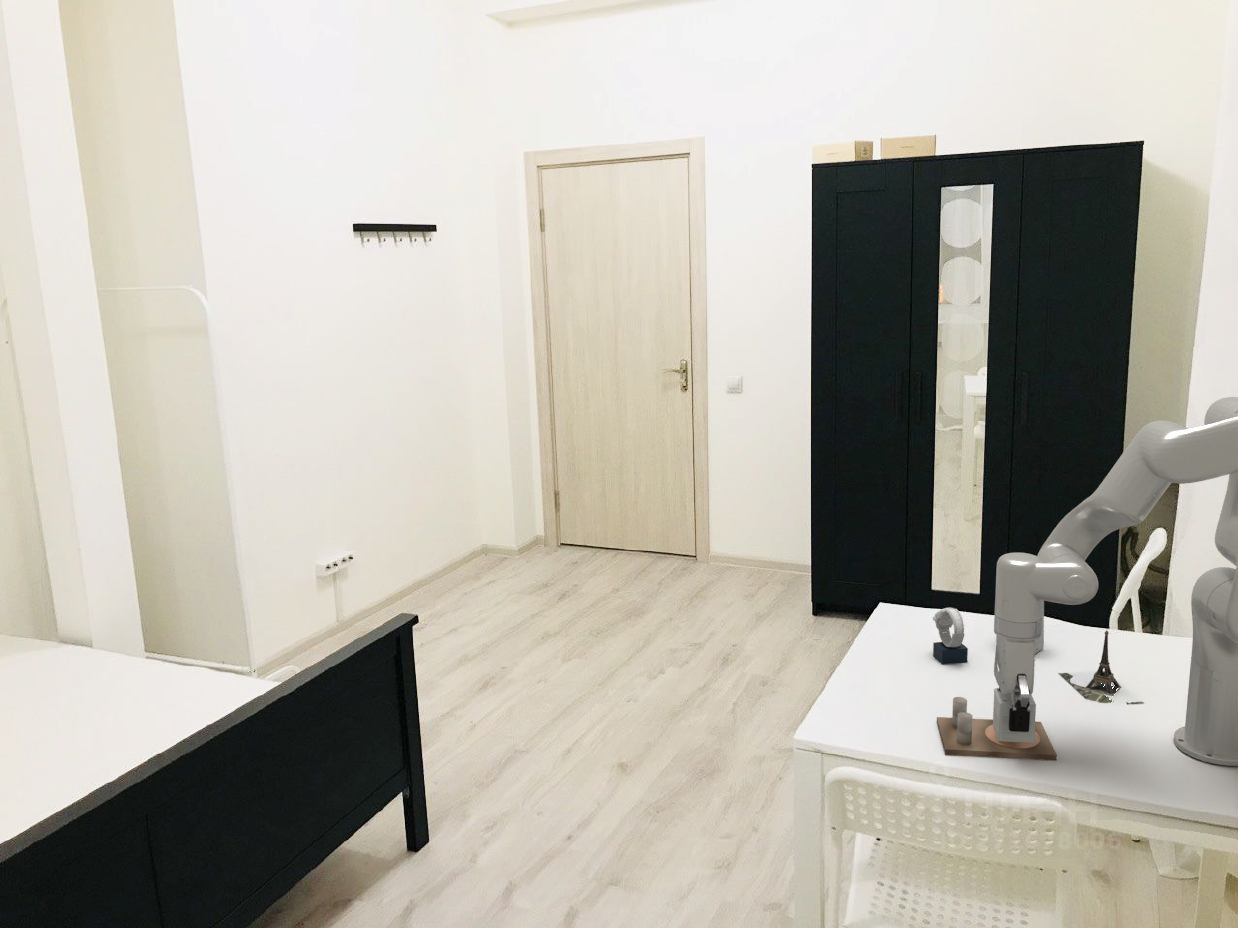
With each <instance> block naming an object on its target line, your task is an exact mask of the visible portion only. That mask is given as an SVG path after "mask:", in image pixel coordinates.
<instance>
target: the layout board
mask: <svg viewBox="0 0 1238 928" xmlns="http://www.w3.org/2000/svg"><path fill="white" fill-rule="evenodd" d="M967 710H968V699H967V698H965V697H962V696H956V697H953V698H952V717H948V716H947V717H944V716H943V717H941V716H936V725H937V729H938V732H939V736H940V737H939V738H940V740H941V744H942V748H943V751H944V755H945V756H946V755H947V756H965V757H969V756H970V757H988V758H1002V759H1003V758H1004V759H1005V758H1007V759H1022V760H1023V759H1024V760H1042V761H1043V760H1044V761H1057V760H1058V759H1057V758H1058V755H1057V752H1056V750H1055V748H1054V746H1053V743H1052V742H1051V739H1050V737H1049V735H1048V733H1047V731H1046V730H1045V727H1044V725H1043V723H1042V721H1036V720H1035V741H1034V743H1022V742H1002V741H998V738H997V736H996V733H995V731H994V728H993V718H992V719H988V718H986V719H985V718H973V714H972V713H969V712H967Z"/></svg>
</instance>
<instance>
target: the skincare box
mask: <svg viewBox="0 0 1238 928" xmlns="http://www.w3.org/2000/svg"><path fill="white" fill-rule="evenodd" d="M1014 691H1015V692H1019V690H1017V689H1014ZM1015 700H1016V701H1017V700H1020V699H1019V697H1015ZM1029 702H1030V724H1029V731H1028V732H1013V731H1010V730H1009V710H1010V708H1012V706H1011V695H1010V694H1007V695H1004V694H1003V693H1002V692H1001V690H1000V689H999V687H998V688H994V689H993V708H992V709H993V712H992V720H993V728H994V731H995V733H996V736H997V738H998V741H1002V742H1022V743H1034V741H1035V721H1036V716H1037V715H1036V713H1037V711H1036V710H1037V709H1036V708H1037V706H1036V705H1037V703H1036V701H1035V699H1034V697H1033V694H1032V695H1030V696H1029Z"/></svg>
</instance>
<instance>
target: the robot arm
mask: <svg viewBox="0 0 1238 928" xmlns="http://www.w3.org/2000/svg"><path fill="white" fill-rule="evenodd" d="M1203 422H1204V423H1203V425H1199V426H1195V427H1186V426H1184V425H1182V424H1179V423H1177V422H1173V421H1171V420H1163V419H1161V420H1160V419H1159V420H1154V421H1151V422H1149V423H1147V424H1145V425H1144V426H1142V427H1141V428H1140V429H1139V431H1138V432H1137V433H1136V435H1135V436H1134V437H1133V438H1132V440H1131V441H1130V442H1129V444H1128V446H1127V447H1126V448H1125V450H1124V451H1123V452H1122V454H1120V457H1119V458H1118V459H1117V461H1116V462H1115V464H1114V465H1113V467H1112V468H1111V469H1110V471H1109V472H1108V473H1107V475H1106V476H1105V477H1104V478H1103V480H1102V482H1100V484H1099V485H1098V487H1097V488H1096V489H1095V491H1093V493H1092V494H1091V495H1090V496H1088V497H1086V499H1084V500H1082V502H1081V503H1079V504H1078V505H1077V506H1076V507H1074V508H1072V509H1071V511H1070V512H1067V514H1066V515H1065V516H1064V517H1063V518H1062V519H1061V520H1060V521H1058V524H1057V525H1056V527H1054V529H1053V530H1052V531H1051V533H1050V535H1049V536H1048V537H1047V539H1046V541H1044V543H1043V544H1042V545H1041V547H1040V549H1039V552H1038V553H1037V555H1034V554H1031V553H1026V552H1009V553H1005V554H1003V555H1001V556H1000V557H998V560H997V562H996V571H995V572H996V573H995V575H996V576H995V598H994V599H995V600H994V618H993V619H994V620H993V622H994V623H993V632H994V635H997V642H996V641H995V642H996V643H995V644H996V645H995V655H994V667H993V676H994V677H995V680H996V683H997V685H998V688H999V689H1000V690H1001V692H1002V693H1003V694H1004V695H1007V694H1010V695H1011V706H1012V708H1010V710H1009V730H1010V731H1013V732H1028V731H1029V724H1030V702H1029V696H1030V695H1032V696H1033V692H1034V684H1035V681H1034V680H1035V655H1036V654H1035V640H1037V639H1039V638H1040V637H1041V626H1042V608H1043V601H1044V602H1050V603H1056V604H1061V605H1069V606H1070V605H1071V606H1075V605H1082V604H1085V603H1087V602H1089V601H1092V599H1094V598H1095V596H1096V594H1097V592H1098V590H1099V580H1098V577H1097V575H1096V573H1095V572H1094V571H1095V570H1093V568H1092V567H1091V566H1089V564H1088V563H1087V562H1086V560H1087V559H1088V557H1089V555H1090V554H1091V553H1092V551H1093V550H1094V548H1096V546H1097V545H1098V544H1099V543H1100V542H1101V541H1102V540H1103V539H1104V538H1105V537H1107V536H1108V535H1110V534H1111V533H1113V532H1115V531H1117V530H1120V529H1123V528H1129V527H1131V526H1132V527H1133V526H1135V525H1138V524H1141V523H1142V522H1143V521H1144V520H1145V519H1146V518H1147V517H1148V515H1149V514H1150V513H1151V511H1152V510H1153V509H1154V507H1155V506H1156V504H1157V503H1158V502H1159V500H1160V499H1161V498H1162V496H1163V495H1164V493H1165V492H1166V491H1167V489H1169V487H1170V486H1171V484H1180V485H1181V484H1182V485H1183V484H1194V483H1198V482H1203V481H1207V480H1212V479H1213V480H1214V479H1217V478H1220V477H1223V476H1224V477H1225V476H1228V482H1227V486H1226V487H1227V488H1226V492H1225V495H1224V500H1223V503H1222V505H1221V506H1222V507H1221V510H1220V514H1219V517H1218V522H1217V525H1216V529H1215V534H1214V544H1215V547H1216V550H1217V551H1218V552H1219V553H1220V555H1221V556H1222V557H1224V558H1225V559H1226V560H1227V561H1229V562H1230V564H1232V565H1234V566H1235V567H1236V568H1232V567H1226V566H1225V567H1224V566H1223V567H1222V566H1221V567H1214V568H1211V569H1209V570H1207V571H1205V572H1204V573H1202V574H1201V575H1200V576H1199V577H1198V578H1197V579H1196V581H1195V583H1194V585H1193V588H1192V592H1191V600H1190V602H1191V603H1190V604H1191V605H1190V606H1191V607H1190V608H1191V618H1192V619H1191V621H1192V643H1191V644H1192V645H1191V657H1190V666H1189V677H1188V689H1187V698H1186V699H1187V700H1186V702H1187V703H1186V712H1185V724H1184V726H1181V727H1179V728H1178V729H1176V730H1175V731H1174V733H1173V743H1174V745H1175V746H1176V748H1178V749H1179V750H1180V751H1181V752H1183V753H1184V754H1185V755H1187V756H1189V757H1191V758H1194V759H1197V760H1200V761H1202V762H1204V763H1209V764H1214V765H1218V766H1225V767H1226V766H1227V767H1238V397H1237V396H1227V397H1222V398H1219V399H1218V400H1216V401H1213V403H1211V404H1210V406H1209V407H1208V409H1207V410H1206V412H1205V415H1204V421H1203ZM1014 689H1017V690H1019V692H1015V691H1014ZM1015 697H1019V699H1020V700H1017V701H1016V700H1015Z"/></svg>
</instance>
